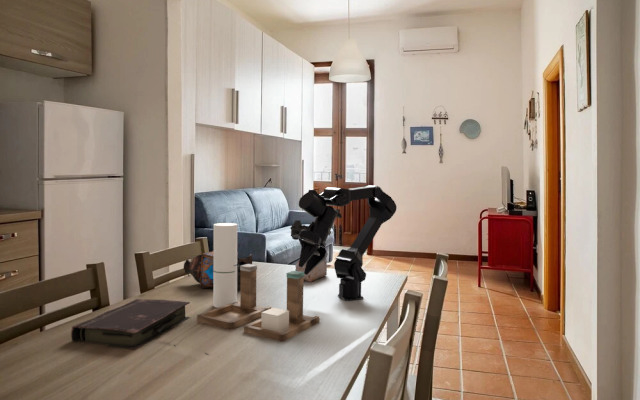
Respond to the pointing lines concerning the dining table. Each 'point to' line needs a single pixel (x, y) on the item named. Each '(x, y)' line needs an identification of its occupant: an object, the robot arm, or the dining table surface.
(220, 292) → the cylindrical container
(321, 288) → the dining table surface
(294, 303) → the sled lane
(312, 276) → the food item
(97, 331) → the diary
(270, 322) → the cube
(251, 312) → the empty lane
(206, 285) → the patterned brown vase
